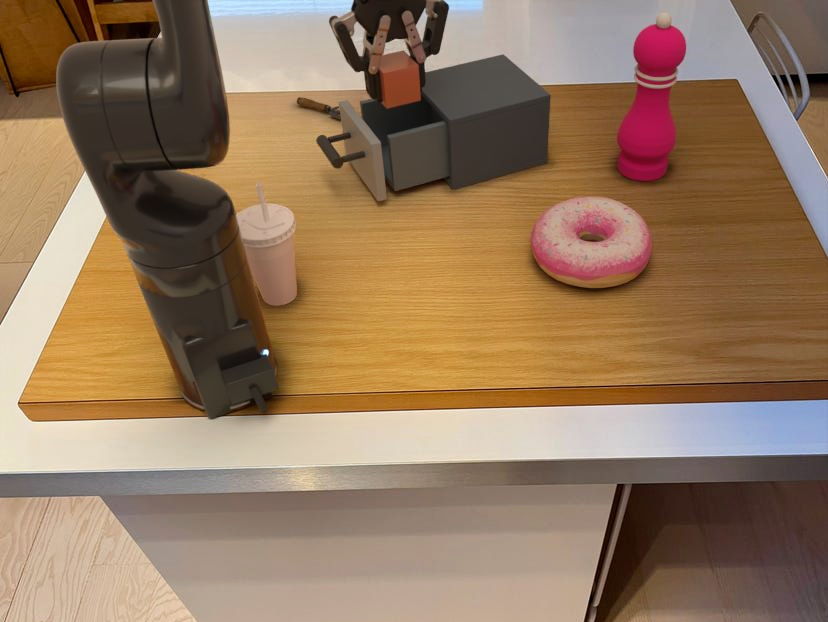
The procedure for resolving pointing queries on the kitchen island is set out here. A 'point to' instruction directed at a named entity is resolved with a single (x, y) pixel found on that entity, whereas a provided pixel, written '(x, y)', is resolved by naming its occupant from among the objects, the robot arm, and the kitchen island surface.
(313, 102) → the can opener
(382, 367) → the kitchen island surface
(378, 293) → the kitchen island surface
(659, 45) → the pepper mill
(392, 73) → the block
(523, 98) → the cabinet
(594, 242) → the donut
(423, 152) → the drawer
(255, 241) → the smoothie
